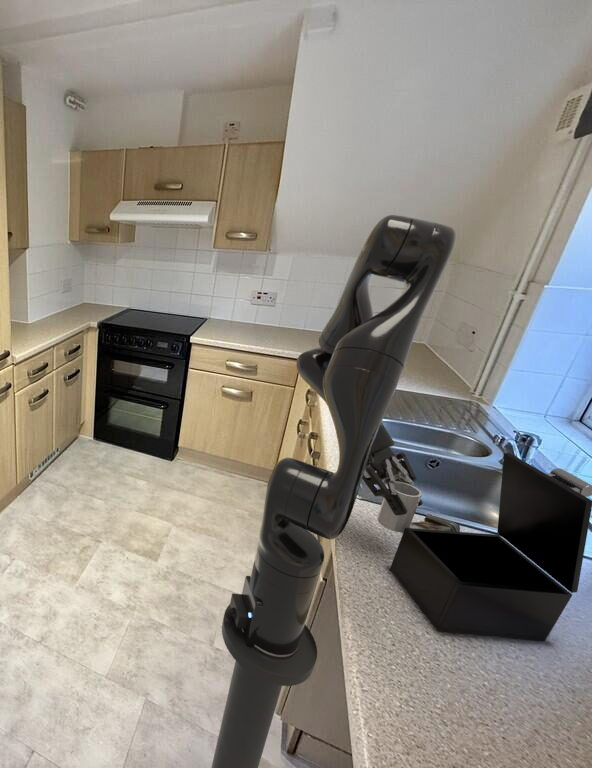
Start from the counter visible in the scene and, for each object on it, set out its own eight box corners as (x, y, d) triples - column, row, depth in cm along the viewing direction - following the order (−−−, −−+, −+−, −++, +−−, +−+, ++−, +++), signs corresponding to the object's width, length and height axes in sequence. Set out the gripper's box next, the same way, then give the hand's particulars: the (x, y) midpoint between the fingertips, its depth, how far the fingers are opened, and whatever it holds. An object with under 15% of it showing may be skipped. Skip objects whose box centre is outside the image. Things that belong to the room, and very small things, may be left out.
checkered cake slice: (391, 518, 97) (412, 510, 87) (425, 514, 96) (450, 506, 85) (409, 562, 93) (433, 559, 82) (445, 558, 91) (474, 555, 81)
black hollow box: (438, 631, 69) (459, 585, 66) (389, 569, 82) (405, 527, 78) (545, 641, 68) (573, 594, 64) (478, 576, 81) (498, 534, 77)
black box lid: (586, 501, 59) (631, 495, 58) (503, 453, 71) (539, 447, 70) (571, 593, 64) (612, 588, 63) (497, 532, 77) (530, 528, 76)
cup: (386, 531, 82) (399, 495, 79) (371, 514, 87) (383, 480, 84) (414, 533, 81) (428, 498, 78) (397, 516, 86) (410, 482, 83)
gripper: (360, 431, 80) (411, 517, 75) (398, 417, 87) (447, 496, 81) (327, 443, 86) (371, 524, 81) (365, 429, 93) (408, 503, 87)
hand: (409, 509), depth 81 cm, fingers closed on cup, 5 cm apart
